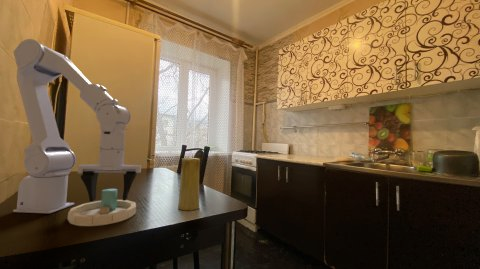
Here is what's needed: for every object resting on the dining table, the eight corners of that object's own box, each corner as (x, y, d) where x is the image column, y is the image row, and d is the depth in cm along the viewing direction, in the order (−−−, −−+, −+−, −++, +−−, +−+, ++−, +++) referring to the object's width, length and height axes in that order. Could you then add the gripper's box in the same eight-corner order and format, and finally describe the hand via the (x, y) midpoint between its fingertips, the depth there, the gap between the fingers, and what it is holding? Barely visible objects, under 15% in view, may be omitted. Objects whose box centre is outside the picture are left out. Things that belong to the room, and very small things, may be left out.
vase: (194, 212, 58) (196, 160, 59) (173, 209, 59) (176, 158, 60) (202, 205, 64) (204, 158, 65) (183, 203, 65) (186, 157, 66)
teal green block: (97, 210, 55) (98, 191, 55) (106, 206, 58) (107, 188, 58) (110, 211, 54) (112, 192, 55) (119, 207, 58) (120, 189, 58)
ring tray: (51, 224, 46) (52, 215, 46) (96, 205, 60) (96, 198, 60) (115, 227, 46) (115, 218, 46) (144, 207, 60) (145, 200, 60)
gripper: (73, 148, 51) (69, 205, 51) (139, 150, 55) (136, 203, 55) (85, 147, 58) (82, 197, 57) (143, 149, 62) (140, 196, 61)
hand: (109, 200), depth 56 cm, fingers open, 7 cm apart
